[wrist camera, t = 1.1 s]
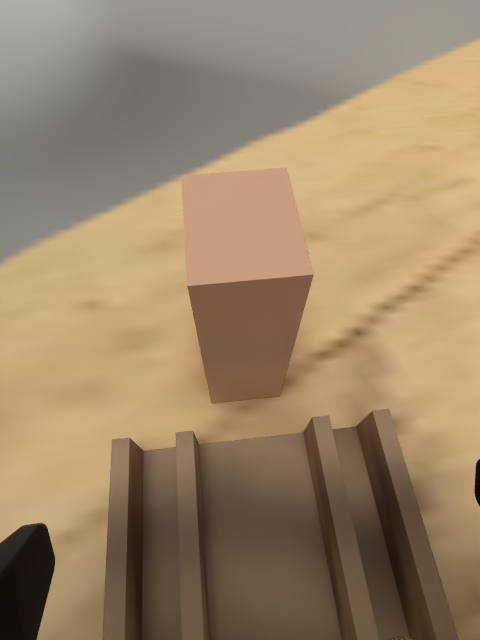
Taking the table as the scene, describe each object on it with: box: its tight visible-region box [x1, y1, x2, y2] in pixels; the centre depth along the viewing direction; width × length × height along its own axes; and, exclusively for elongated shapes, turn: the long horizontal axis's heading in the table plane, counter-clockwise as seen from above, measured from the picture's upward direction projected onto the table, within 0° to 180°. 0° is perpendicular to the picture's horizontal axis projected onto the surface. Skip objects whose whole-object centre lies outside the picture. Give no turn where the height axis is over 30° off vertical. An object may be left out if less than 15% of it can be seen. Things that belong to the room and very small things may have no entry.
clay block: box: [181, 168, 314, 403], centre depth 19 cm, size 5×4×12 cm
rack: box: [103, 409, 459, 640], centre depth 18 cm, size 9×13×4 cm
